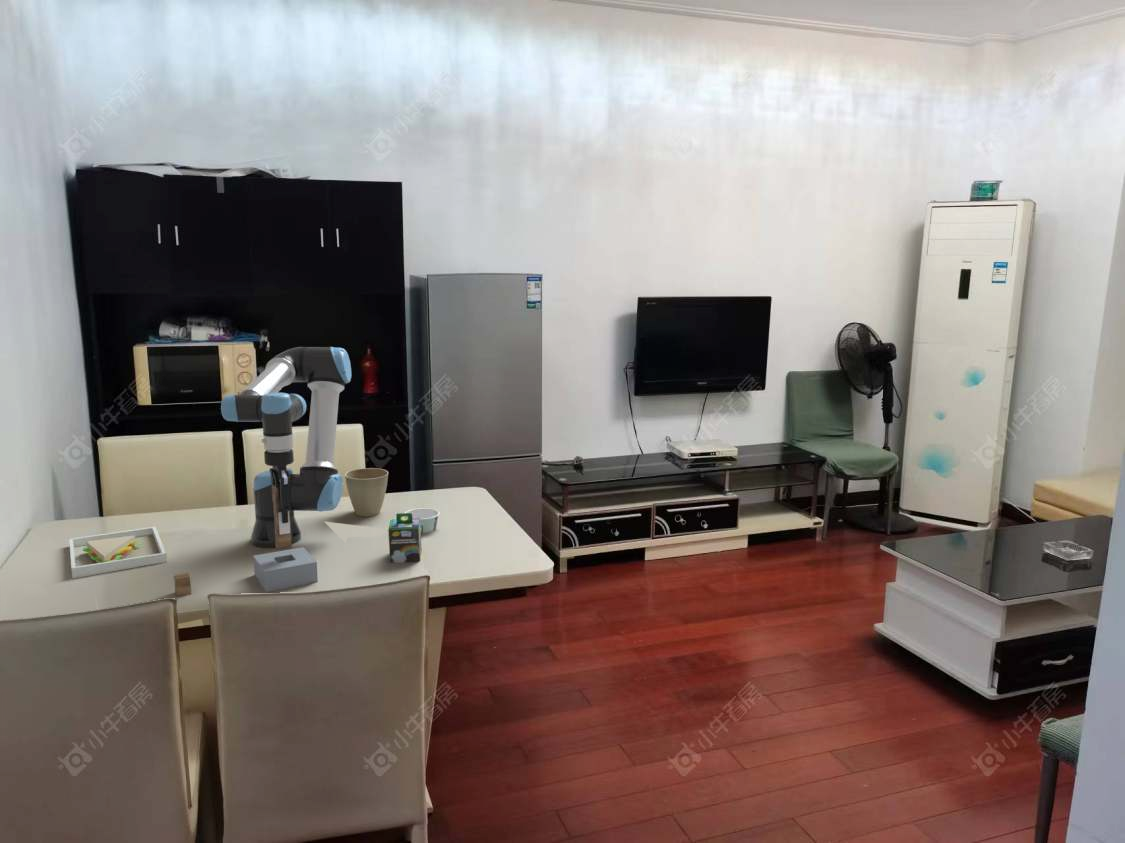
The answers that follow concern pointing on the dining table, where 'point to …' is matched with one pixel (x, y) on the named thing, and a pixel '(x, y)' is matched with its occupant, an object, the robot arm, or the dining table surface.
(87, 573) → the sandwich plate rim
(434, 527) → the food container
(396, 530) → the chalk box
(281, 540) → the long wooden block
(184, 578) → the short pin
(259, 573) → the hole block
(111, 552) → the sandwich
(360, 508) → the plant pot
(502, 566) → the dining table surface
